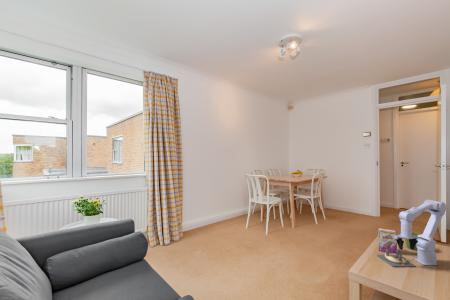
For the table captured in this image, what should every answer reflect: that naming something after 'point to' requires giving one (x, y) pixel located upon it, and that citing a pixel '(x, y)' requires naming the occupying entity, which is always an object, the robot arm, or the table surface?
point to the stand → (396, 263)
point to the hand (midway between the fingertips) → (406, 249)
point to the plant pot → (409, 243)
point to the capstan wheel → (395, 257)
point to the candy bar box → (387, 240)
